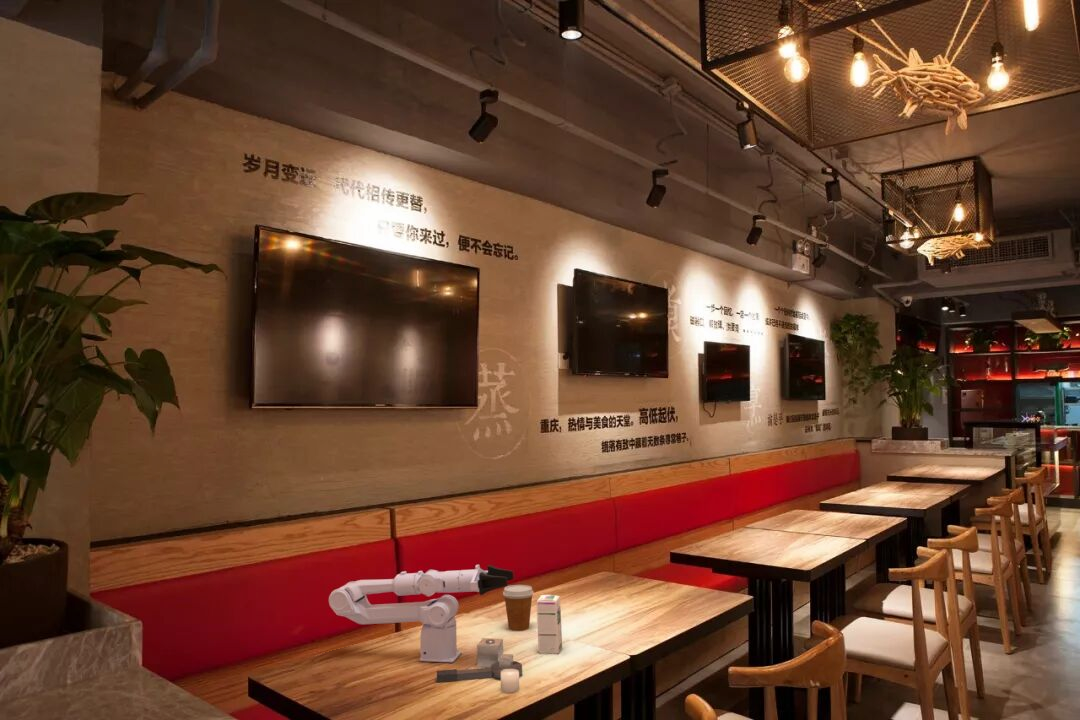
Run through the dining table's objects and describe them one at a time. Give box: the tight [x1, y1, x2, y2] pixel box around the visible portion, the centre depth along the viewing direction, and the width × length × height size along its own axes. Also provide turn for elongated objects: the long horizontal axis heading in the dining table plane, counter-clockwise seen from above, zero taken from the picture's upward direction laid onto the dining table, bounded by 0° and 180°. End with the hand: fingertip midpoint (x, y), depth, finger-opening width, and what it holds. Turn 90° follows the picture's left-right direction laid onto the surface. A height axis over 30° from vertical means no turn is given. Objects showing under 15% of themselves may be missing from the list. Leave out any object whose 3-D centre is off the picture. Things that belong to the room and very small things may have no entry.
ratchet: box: [436, 653, 523, 683], centre depth 177 cm, size 21×11×4 cm, turn 80°
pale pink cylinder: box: [500, 669, 520, 694], centre depth 168 cm, size 4×4×4 cm
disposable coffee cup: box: [502, 584, 534, 632], centre depth 216 cm, size 10×10×12 cm
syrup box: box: [536, 594, 563, 655], centre depth 195 cm, size 6×6×14 cm
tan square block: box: [476, 637, 504, 668], centre depth 185 cm, size 6×6×6 cm
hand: (510, 578), depth 189 cm, fingers open, 7 cm apart
